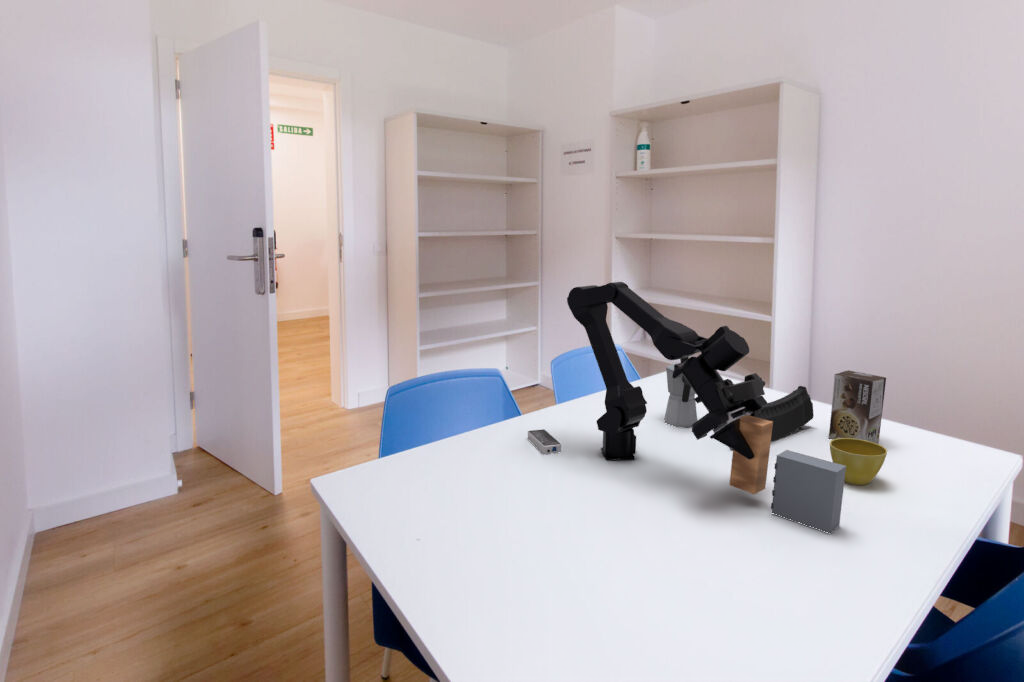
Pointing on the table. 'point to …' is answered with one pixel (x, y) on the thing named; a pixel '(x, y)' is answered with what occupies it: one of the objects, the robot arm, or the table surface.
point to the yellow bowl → (858, 458)
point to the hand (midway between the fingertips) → (758, 455)
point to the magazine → (788, 413)
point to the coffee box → (857, 406)
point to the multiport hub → (544, 441)
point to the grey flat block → (808, 490)
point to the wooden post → (754, 470)
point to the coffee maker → (680, 400)
